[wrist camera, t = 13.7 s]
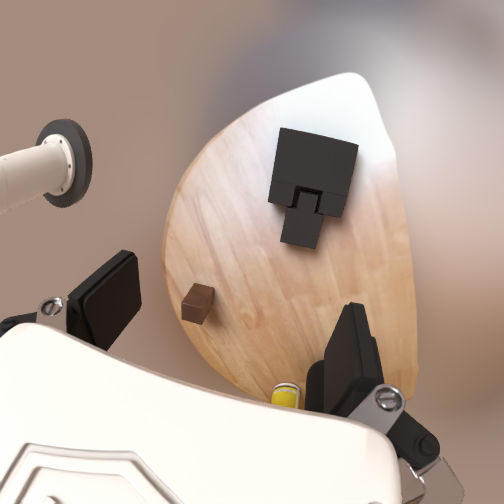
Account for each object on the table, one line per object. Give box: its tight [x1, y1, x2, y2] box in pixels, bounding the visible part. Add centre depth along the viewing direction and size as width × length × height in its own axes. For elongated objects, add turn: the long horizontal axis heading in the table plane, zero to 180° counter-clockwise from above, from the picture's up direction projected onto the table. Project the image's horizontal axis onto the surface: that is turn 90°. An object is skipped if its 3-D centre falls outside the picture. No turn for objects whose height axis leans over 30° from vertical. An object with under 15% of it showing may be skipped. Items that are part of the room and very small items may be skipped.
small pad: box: [280, 189, 324, 249], centre depth 37 cm, size 7×5×2 cm
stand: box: [181, 283, 214, 325], centre depth 45 cm, size 4×4×6 cm
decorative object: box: [304, 360, 324, 413], centre depth 43 cm, size 7×7×15 cm
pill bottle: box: [271, 383, 300, 409], centre depth 51 cm, size 6×6×11 cm
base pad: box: [268, 128, 359, 218], centre depth 34 cm, size 10×10×2 cm
